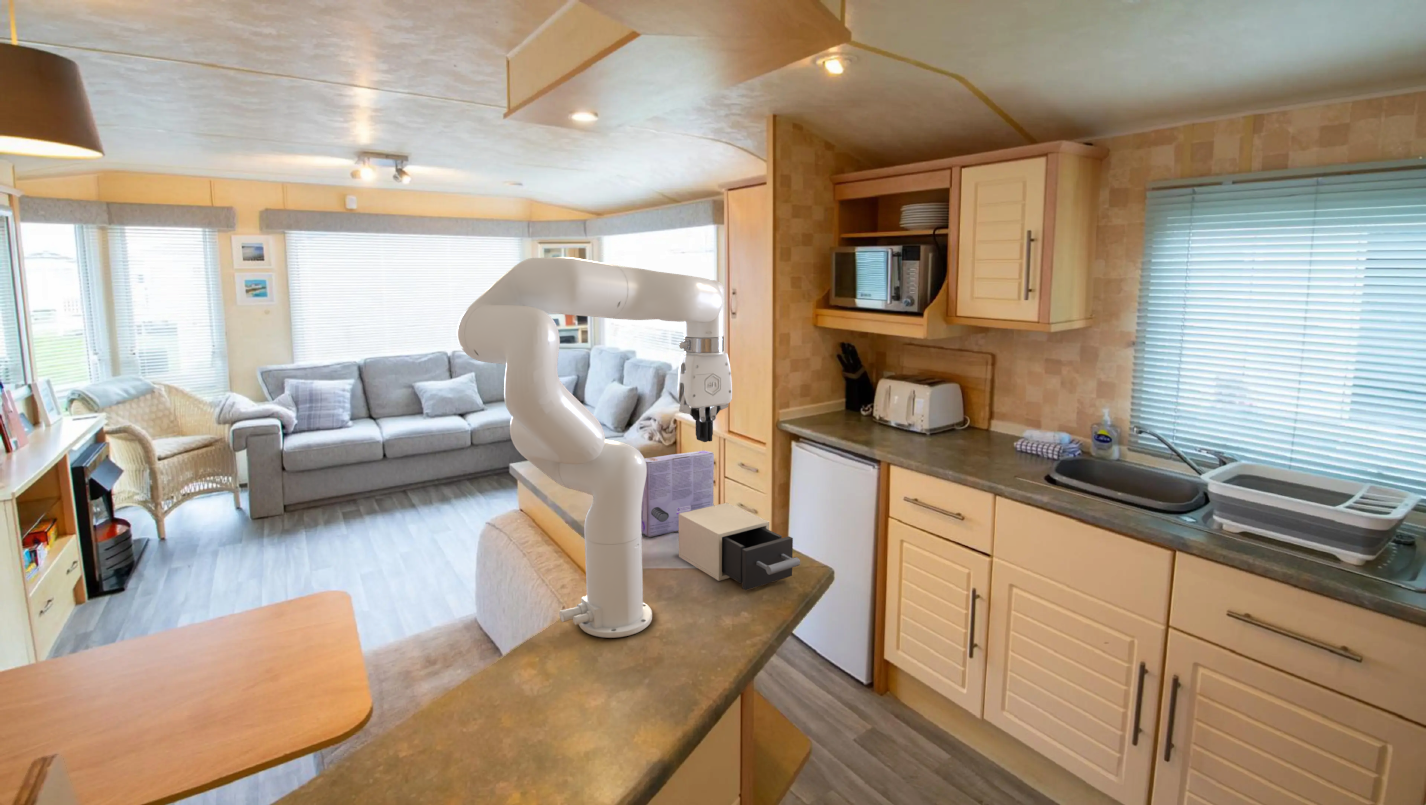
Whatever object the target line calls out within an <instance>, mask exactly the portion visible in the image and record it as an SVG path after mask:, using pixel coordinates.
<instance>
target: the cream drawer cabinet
mask: <svg viewBox="0 0 1426 805" xmlns="http://www.w3.org/2000/svg"><path fill="white" fill-rule="evenodd" d="M759 527H763V528H766V529H768V530H770V521H769V520H768V519H765V518H762V517H760V516H758V515H756V514H754V513H751V512H749V511H747V510H746V509H743V508H740V507H738V506H736V505H733V504H732V503H730V502H724V503H719V504H715V505H714V506H710V507H706V508H701V509H697V510H692V511H688V512H683V513H679V531H678V558H680V559H681V560H684V561H685V562H687V563H689V564H690V565H692V566H693V567H695V568H696V569H698V570H700V571H702V572H703V573H705V574H707V575H708V576H710V577H711V578H713V579H715V580H716V581H718V582H719V581H723V580H727V579H731V577H729V576H728V575H726V574H724V573H722V537H725V536H729V535H732V534H736V533H740V532H744V531H748V530H752V529H756V528H759Z"/></svg>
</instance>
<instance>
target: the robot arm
mask: <svg viewBox="0 0 1426 805" xmlns="http://www.w3.org/2000/svg"><path fill="white" fill-rule="evenodd" d="M724 289H725V287H724V285H723V283H722V282H721V281H719V280H715V279H714V280H713V279H709V278H704V277H699V276H693V275H688V274H687V275H686V274H680V273H672V272H664V271H657V270H651V269H645V268H639V267H631V266H624V265H617V264H611V263H605V262H600V261H594V260H588V259H585V258H584V259H583V258H577V257H570V256H551V257H550V256H549V257H548V256H547V257H530V258H526V259H524V260H522V261H520V262H518V263H517V264H515V265H514V266H513V267H512V268H510V269H509V270H508V271H506V272H505V273H504V274H503V275H501V277H499V278H498V279H497V280H496V281H495V282H494V283H493V284H492V285H491V286H490V287H489V288H487V289H486V290H485V291H484V292H483V293H482V294H481V295H480V296H479V297H478V298H476V300H474V301H473V302H472V303H471V304H470V305H469V306H468V307H467V308H466V310H465V311H464V312H463V314H461V316H460V318H459V321H458V324H457V329H456V336H457V342H458V345H459V346H460V348H461V350H462V351H463V352H464V354H466V355H467V356H468V357H470V358H471V359H473V360H475V361H478V362H481V363H489V364H496V365H497V364H498V365H504V366H505V373H504V385H503V386H504V387H503V389H504V390H503V398H504V399H503V400H504V404H505V407H506V409H507V411H508V413H509V414H510V416H511V419H510V423H509V435H510V439H511V443H512V444H513V446H514V447H515V449H516V451H517V452H518V453H519V454H520V455H521V456H522V457H524V459H526V460H527V461H528V462H529V463H531V464H532V465H533V466H534V467H535V468H536V469H538V470H539V471H541V472H542V473H543V474H544V475H545V476H547V477H548V478H549V479H551V480H552V481H554V482H555V483H556V484H558V485H559V486H562V487H563V488H567V489H569V490H573V491H577V492H580V493H584V494H588V495H590V496H592V503H591V504H590V507H589V508H588V511H587V513H586V516H585V519H584V526H583V527H584V530H583V532H584V554H585V557H584V558H585V578H586V579H585V585H586V586H585V587H586V595H583V596H581V598H580V602H581V603H578V604H576V606H575V607H569V608H566V609H563V610H560V611H559V619H560V621H561V623H566V622H570V621H572V623H573V624H574V625H575V626H576V625H578V626H579V628H580V629H581V630H582V631H583V632H584V633H586V634H588V635H591V636H594V637H597V638H608V639H612V638H613V639H615V638H624V637H627V636H632V635H635V634H638V633H639V632H642V631H643V630H645V629H646V628H647V627H648V626H649V625H651V623H652V621H653V610H652V608H651V607H650V606H649V604H647V603H645V602H644V585H643V583H644V581H643V580H644V579H643V578H644V577H643V536H642V534H643V533H642V532H641V510H642V497H643V491H644V486H645V481H646V473H647V467H646V462H645V457H644V455H643V454H642V452H641V451H640V452H639V451H638V450H637V449H638V448H636V447H635V446H633V445H631V444H628V443H625V442H622V441H618V440H613V439H607V438H606V434H605V431H604V428H603V426H602V424H601V422H600V421H599V420H598V418H597V417H596V416H595V415H594V413H592V412H591V411H590V410H589V409H588V408H587V407H586V406H585V405H584V404H582V402H581V401H579V399H578V398H576V396H575V395H573V393H572V392H570V391H569V390H568V389H567V387H565V385H564V383H562V381H561V379H560V377H559V373H558V364H559V363H558V361H559V353H560V346H561V345H560V344H561V338H560V332H559V328H558V325H557V324H556V322H555V320H554V318H552V316H551V315H550V314H555V315H556V314H558V315H565V316H567V315H568V316H579V317H590V318H591V317H592V318H603V319H613V320H628V321H629V320H630V321H649V320H651V321H653V320H659V321H665V322H679V323H680V322H681V323H682V322H683V336H684V337H683V341H679V343H678V344H679V345H678V347H679V349H682V350H683V351H684V352H683V353H681V356H680V359H679V360H680V361H679V366H678V375H677V401H678V403H679V408H678V411H679V413H682V414H686V415H690V416H691V417H692V419H693V420H694V421H695V436H696V437H695V438H696V440H697V441H699V442H702V443H707V442H713V435H714V421H715V420H716V419H717V415H718V414H719V413H720V411H723V410H726V409H728V407H729V403H731V401H732V399H733V378H732V370H731V369H732V368H731V363H730V358H729V355H728V352H725V290H724Z"/></svg>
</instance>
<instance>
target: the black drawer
mask: <svg viewBox="0 0 1426 805" xmlns="http://www.w3.org/2000/svg"><path fill="white" fill-rule="evenodd" d="M793 548H794V537H792V536H785V537H782V535H781V534H778V533H776V532H774V531H772V530H770V529H769V530H768V529H766V528H763V527H759V528H756V529H752V530H748V531H744V532H740V533H736V534H732V535H729V536H725V537H722V573H724V574H726V575H728V576H729V577H730V579H732V580H734V581H735V582H738V583H740V584H741V588H742V589H743V590H744V591H749V590H752V589H755V588H758V587H762V586H763V585H767V584H771V583H774V582H777V581H781V580H784V579H786V578H789V577H792V576H793V568H796V567H799V566H800V565H801V560H800V558H798V556H795V557H793V554H794V553H793V552H794V551H793V550H794V549H793Z"/></svg>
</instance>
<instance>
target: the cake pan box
mask: <svg viewBox="0 0 1426 805" xmlns="http://www.w3.org/2000/svg"><path fill="white" fill-rule="evenodd" d="M644 459H645V462H646V467H647V473H646V481H645V486H644V491H643V497H642V510H641V532H642V534H643V535H645V536H646V537H647V538H652V537H656V536H661V535H666V534H670V533H677V532H679V513H683V512H688V511H692V510H697V509H701V508H706V507H710V506H714V504H715V503H714V498H715V496H714V478H715V477H714V476H715V475H714V474H715V472H714V470H715V467H714V466H715V465H714V464H715V454H714V452H713V451H708V450H698V451H692V452H691V451H690V452H684V453H675V454H674V453H673V454H668V455H660V456H653V457H646V458H645V457H644Z"/></svg>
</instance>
